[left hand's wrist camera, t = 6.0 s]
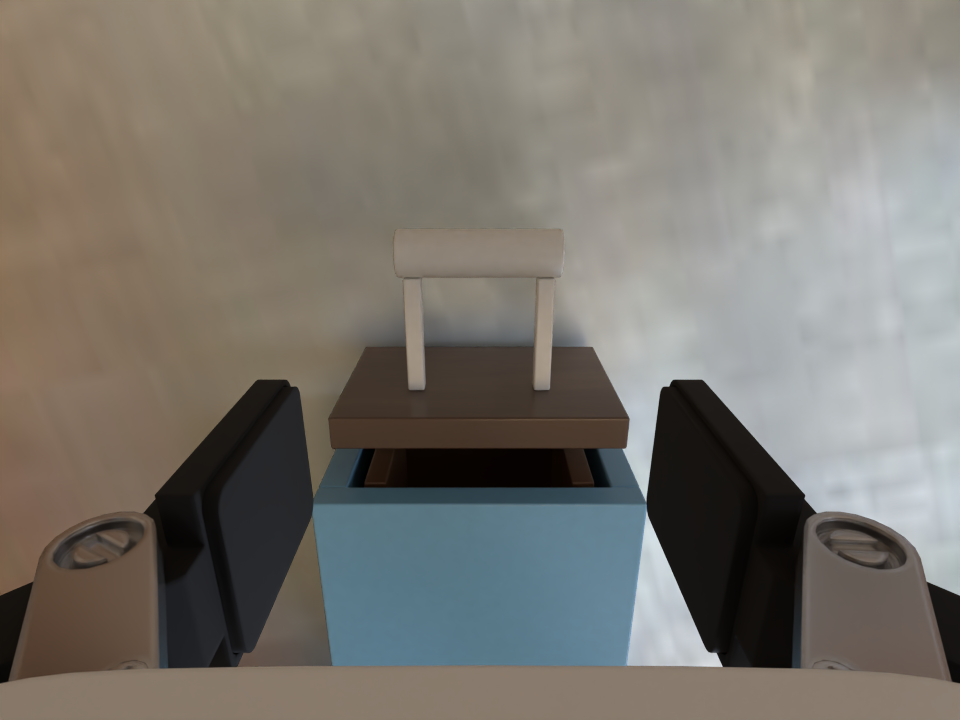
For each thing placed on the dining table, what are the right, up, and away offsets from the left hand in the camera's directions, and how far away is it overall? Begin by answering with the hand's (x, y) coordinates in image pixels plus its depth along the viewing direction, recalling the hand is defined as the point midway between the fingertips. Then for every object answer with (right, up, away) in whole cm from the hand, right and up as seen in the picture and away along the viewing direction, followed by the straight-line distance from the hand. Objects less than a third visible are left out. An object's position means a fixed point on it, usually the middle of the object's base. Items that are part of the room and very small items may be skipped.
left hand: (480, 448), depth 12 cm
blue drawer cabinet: (0, -10, +20) cm, 22 cm away
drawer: (0, -4, +17) cm, 17 cm away
